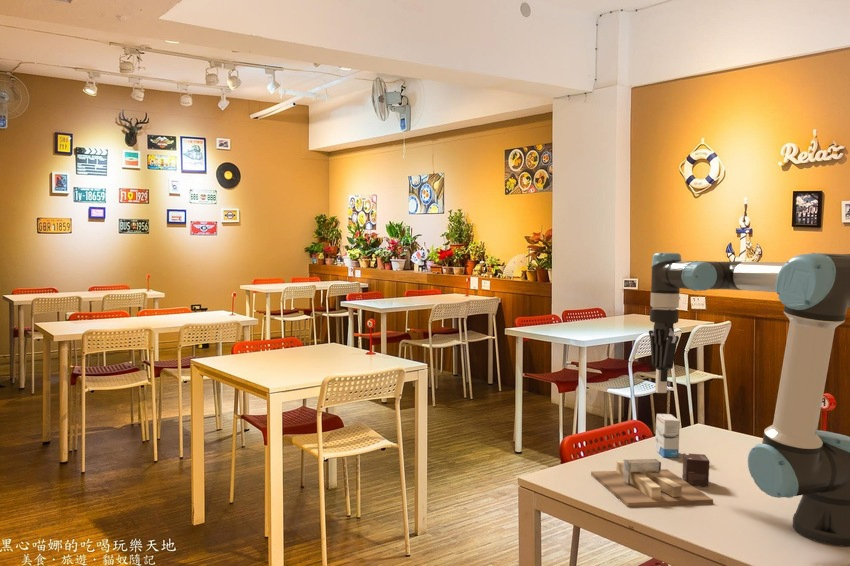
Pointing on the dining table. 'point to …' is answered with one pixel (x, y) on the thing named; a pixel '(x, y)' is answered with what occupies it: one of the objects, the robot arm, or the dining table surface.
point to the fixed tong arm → (641, 482)
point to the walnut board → (637, 498)
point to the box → (696, 469)
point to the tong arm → (665, 483)
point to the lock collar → (640, 467)
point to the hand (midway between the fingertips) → (661, 392)
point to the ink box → (667, 435)
